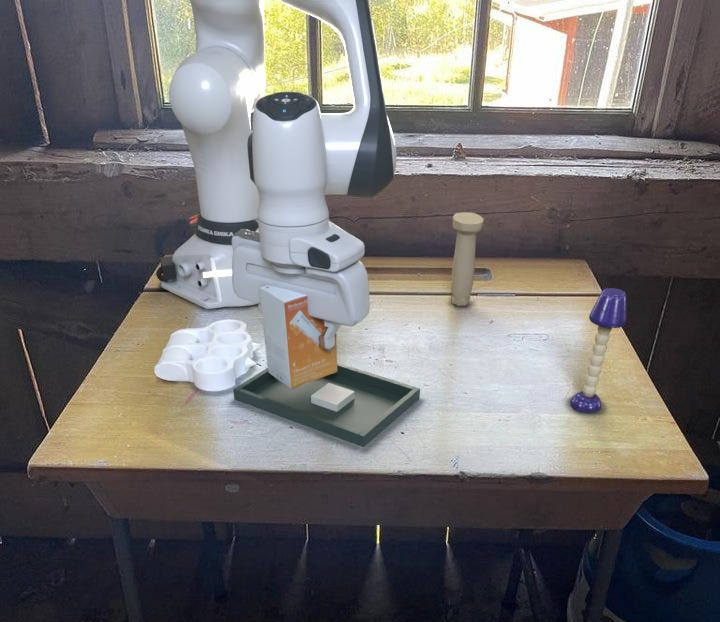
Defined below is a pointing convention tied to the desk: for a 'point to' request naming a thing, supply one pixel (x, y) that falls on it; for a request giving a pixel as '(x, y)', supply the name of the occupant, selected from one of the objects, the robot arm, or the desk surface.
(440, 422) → the desk surface
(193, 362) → the white brass knuckles
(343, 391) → the chalk block
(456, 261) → the handle
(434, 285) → the desk surface
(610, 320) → the toy lamp
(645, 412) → the desk surface
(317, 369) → the small box
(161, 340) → the desk surface
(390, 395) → the tray
